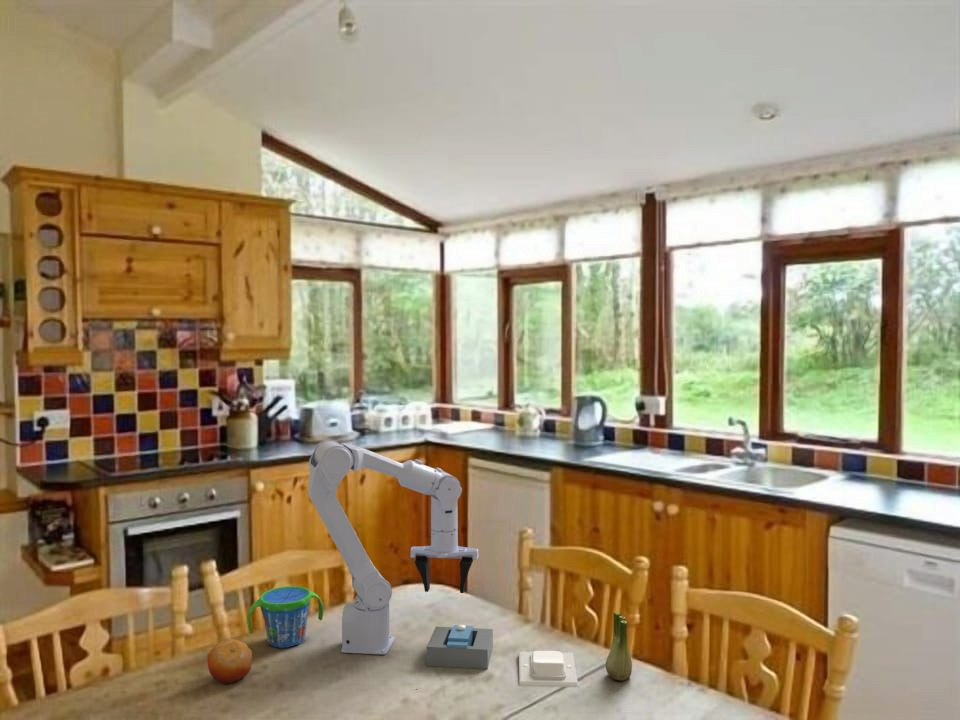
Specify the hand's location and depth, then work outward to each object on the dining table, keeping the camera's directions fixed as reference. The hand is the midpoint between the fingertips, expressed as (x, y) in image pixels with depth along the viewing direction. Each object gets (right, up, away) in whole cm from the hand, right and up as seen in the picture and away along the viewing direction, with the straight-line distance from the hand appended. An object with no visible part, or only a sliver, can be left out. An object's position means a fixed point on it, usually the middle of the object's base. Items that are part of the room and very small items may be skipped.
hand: (444, 591), depth 160 cm
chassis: (+4, -10, -11) cm, 15 cm away
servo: (+4, -10, -11) cm, 15 cm away
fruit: (-40, -11, -20) cm, 46 cm away
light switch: (+21, -11, -17) cm, 29 cm away
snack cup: (-33, -10, -3) cm, 35 cm away
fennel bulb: (+34, -10, -20) cm, 41 cm away
